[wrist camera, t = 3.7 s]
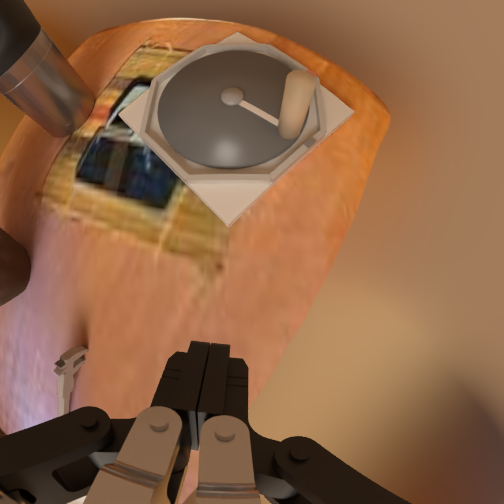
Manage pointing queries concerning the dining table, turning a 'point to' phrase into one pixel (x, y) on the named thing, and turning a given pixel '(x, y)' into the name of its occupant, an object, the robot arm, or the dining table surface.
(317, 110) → the dial plate
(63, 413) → the caliper
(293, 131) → the dial
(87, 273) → the dining table surface
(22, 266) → the plant pot
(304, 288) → the dining table surface
